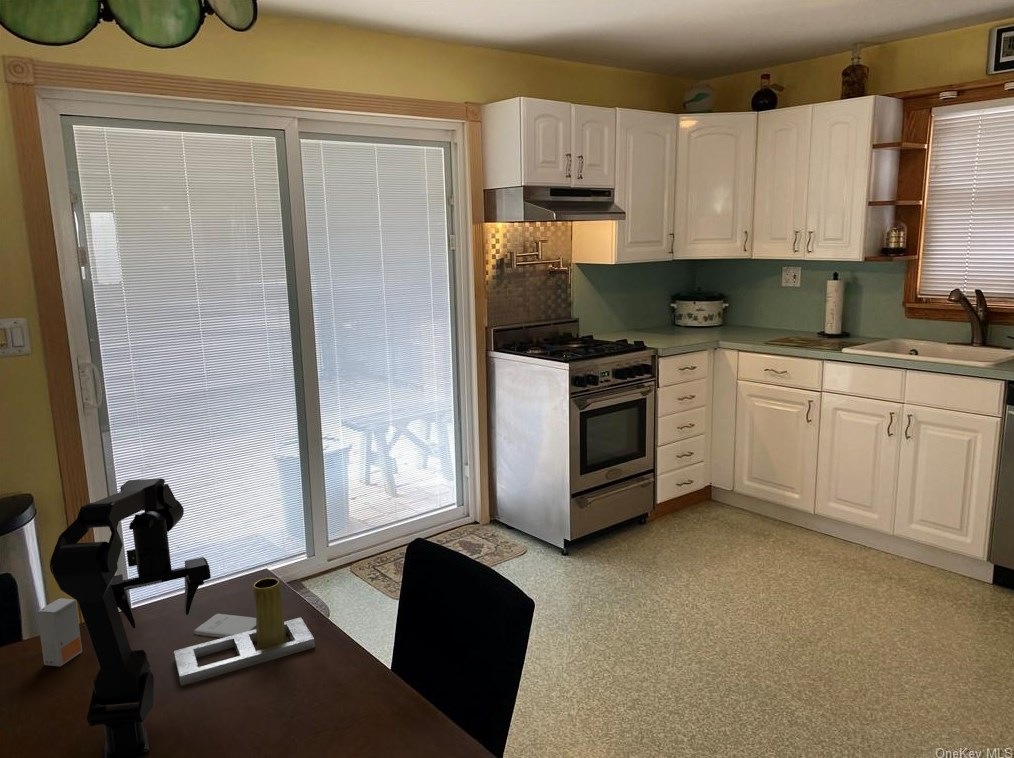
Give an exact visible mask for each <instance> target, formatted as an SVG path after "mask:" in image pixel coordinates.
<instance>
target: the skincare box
mask: <svg viewBox="0 0 1014 758" xmlns="http://www.w3.org/2000/svg"><path fill="white" fill-rule="evenodd" d="M36 615H37V620H38V621H37V622H38V630H39V631H38V632H39V637H40V644H41V652H42V659H43V665H44V666H51V667H52V666H53V667H62V666H63V665H65V664H66V663H68V662H70V661H71V660H72V659H74V658H76V657H77V656H79V654H81V653H83V648H82V640H81V632H80V623H79V622H80V621H79V616H78V605H77V600H76V599H74V598H73V599H72V598H58V599H56V600H54V601H52V602H50V603H48V604H47V605H45V606H44V607H42V608H41V609H39V610H37V612H36Z"/></svg>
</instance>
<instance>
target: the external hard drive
mask: <svg viewBox="0 0 1014 758" xmlns="http://www.w3.org/2000/svg"><path fill="white" fill-rule="evenodd" d="M255 629H256V617H251V616H241V615H233V614H224V613H216V614H215V615H213V616H211V617H210V618H209V619H207V620H206V621H205V622H203V623H202V624H201V625H199V626H198V627H196V629H194V631H193V632H194V635H197V636H198V635H200V636H203V637H204V636H205V637H212V638H218V639H221V638H224V637H228V636H232V635H236V634H239V633H243V632H247V631H251V630H255Z"/></svg>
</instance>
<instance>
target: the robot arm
mask: <svg viewBox="0 0 1014 758" xmlns="http://www.w3.org/2000/svg"><path fill="white" fill-rule="evenodd" d="M165 481H166V480H165V479H164V478H162V477H161V478H145V479H143V478H142V479H129V480H127V481H126V482H124V483H123V484H121V486H120V488H119V489H120V491H119V492H117V493H114V494H111V495H109V496H107V497H104V498H102V499H99V500H96V501H93V502H87V503H86V504H83V505H82V506H81V507H80V509H79V510H78V511H79V512H78V514H77V517H76V519H75V520H74V521H73V522H72V523H71V524H70V525H69V526H67V528H65V530H64V531H63V532H61V534H59V536H58V538H57V541H56V543H55V546H54V549H53V552H52V554H51V557H50V560H49V568H50V569H49V570H50V573H51V575H52V576H53V579H54V580H55V582H56V584H57V586H58V588H59V590H60V591H62V593H64V594H66V595H68V596H69V597H71V599H72V598H73V599H74V600H76V603H77V605H78V607H79V610H80V613H81V616H82V620H83V621H84V625H85V628H86V631H87V633H88V637H89V640H90V642H91V645H92V649H93V651H94V655H95V658H96V660H97V663H98V666H99V669H98V672H97V674H96V676H95V679H94V680H93V684H92V685H93V690H92V695H91V698H90V702H89V708H88V712H87V715H86V720H87V723H88V725H89V727H94V726H102V725H103V731H104V738H105V742H103V743H104V744H103V745H104V746H103V747H104V750H103V752H104V758H138V757H141V756H144V755H146V754H148V753H149V752H150V746H149V739H148V738H149V737H148V732H147V729H144V727H145V726H144V721H145V720H146V718H147V717H148V715H149V713H150V711H151V710H152V708H153V707H154V689H155V688H154V685H155V684H154V683H155V680H154V677H155V676H154V673H152V671H151V669H150V668H151V665H150V663H149V661H148V656H147V652H146V651H145V650H143V649H137V650H132V648H131V646H130V642H129V639H128V636H127V633H126V630H125V626H124V623H123V620H122V617H121V613H120V611H121V612H122V613H123V615H124V616H125V618H126V619H127V621H128V623H129V624H130V625H131V627H132V628H133V629H136V622H135V616H134V612H133V608H132V605H131V602H130V598H129V595H128V591H129V590H130V591H131V590H134V589H138V588H143V587H147V586H151V585H156V584H161V583H164V582H171V581H173V580H179V579H183V578H184V612H185V615H186V616H189V613H190V611H191V607H192V604H193V601H194V597H195V595H196V593H197V590H198V589H199V587H201V586H202V585H204V584H205V581H209V580H210V579H211V577H212V576H211V568H210V565H209V563H208V559H207V558H205V557H204V556H202V557H197V558H192V559H187V560H184V567H183V566H182V567H179V568H173V569H172V561H171V553H170V544H169V536H168V535H169V532H171V530H172V529H173V528H174V527H175V526H176V525H177V524H178V523H179V522H180V521H181V520H182V519H183V517H184V514H185V513H184V511H185V510H184V507H183V505H182V504H181V502H180V501H179V500H177V499H176V497H175V494H174V493H173V491H172V489H171V487H170V485H169V484H168V483H165ZM141 511H144V512H142V513H140V512H141ZM137 513H138V514H137ZM132 516H134V518H133V519H132V521H131V522H130V523H129V526H128V529H129V530H132V535H133V542H134V549H130V550H126V558H127V565H128V567H129V568H130V567H135V566H136V570H137V577H136V576H135V577H133V578H128V579H123V578H124V575H123V574H116V573H117V571H118V569H119V567H118V562H119V558H120V556H121V552H122V549H123V545H124V544H123V541H122V538H121V536H120V534H119V531H118V526H119V523H120V522H121V521H122V520H125V519H127V518H129V517H132ZM96 528H109V531H110V537H109V540H108V541H93V542H92V541H91V542H90V541H88V542H80V540H81V539H82V538H83V537H85V535H86V534H87V533H88V532H89V530H90V529H96Z"/></svg>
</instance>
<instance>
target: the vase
mask: <svg viewBox="0 0 1014 758" xmlns="http://www.w3.org/2000/svg"><path fill="white" fill-rule="evenodd" d="M252 589H253V599H254V610H255V618H256V632H257V641H256V649H257V650H256V651H259V650H262V649H266V648H269V647H273V646H277V645H280V644H284V643H287V642H288V641H287V633H285V626H284V622H285V621H284V620H285V619H284V611H283V610H284V609H283V603H282V594H281V593H282V592H281V582H280V579H278V578H276V577H275V578H274V577H265V578H261V579H259V580H257V581H256V582H254V583H253V586H252Z"/></svg>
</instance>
